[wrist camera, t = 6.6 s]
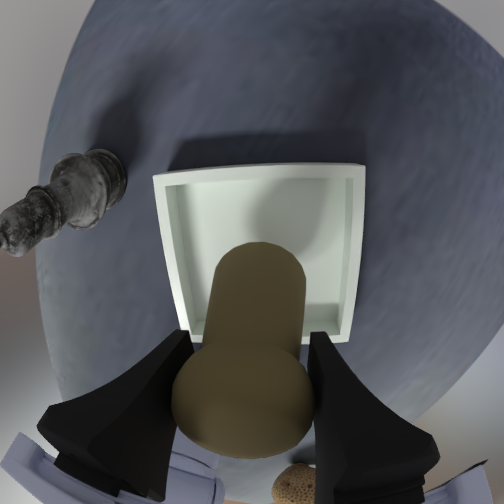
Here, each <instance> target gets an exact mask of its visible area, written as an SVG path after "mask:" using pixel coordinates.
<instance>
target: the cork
mask: <svg viewBox="0 0 504 504" xmlns="http://www.w3.org/2000/svg"><path fill="white" fill-rule="evenodd" d="M305 299H306V276H305V273H304V270H303V267H302V265H301V264H300V263H299V261H298V260H297V259H296V258H295V256H294V255H293V254H292V253H290V252H289V251H287V250H286V249H284V248H282V247H281V246H279V245H275V244H271V243H267V242H248V243H245V244H242V245H239V246H237V247H234V248H233V249H231V250H230V251H229V252H227V253H226V254H225V255H224V256H222V258H221V260H220V261H219V263H218V264H217V266H216V268H215V272H214V276H213V281H212V287H211V292H210V298H209V303H208V309H207V315H206V321H205V326H204V332H203V338H202V344H201V349H200V350H198V351H197V352H195V353H193V354H192V356H191V357H190V358H189V359H188V360H187V361H186V362H185V364H184V365H183V367H182V368H181V369H180V371H179V372H178V373H177V376H176V378H175V380H174V383H173V385H172V399H171V411H172V414H173V417H174V420H175V422H176V424H177V426H178V428H179V430H180V431H181V432H182V433H183V434H184V435H185V436H186V437H187V438H188V439H190V440H191V441H192V442H194V443H195V444H197V445H199V446H200V447H202V448H204V449H206V450H208V451H211V452H214V453H216V454H219V455H223V456H228V457H233V458H243V459H256V458H266V457H270V456H274V455H277V454H281V453H283V452H286V451H288V450H289V449H291V448H293V447H295V446H297V445H298V443H299V442H300V441H301V440H302V439H303V438H304V436H305V435H306V434H307V432H308V431H309V429H310V428H311V426H312V422H313V417H314V412H315V406H316V398H315V390H314V388H313V385H312V383H311V381H310V378H309V376H308V374H307V372H306V370H305V368H304V366H303V365H302V364H301V363H300V362H299V360H300V351H301V342H302V332H303V322H304V311H305Z"/></svg>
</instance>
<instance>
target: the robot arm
mask: <svg viewBox="0 0 504 504" xmlns="http://www.w3.org/2000/svg"><path fill="white" fill-rule="evenodd" d="M193 353H194V349H193V345H192V341H191V337H190V333H189V330H178V329H176V330H175V331H174V332H172V333H171V334H170V335H169V336H168V337H167V338H166V339H165V340H164V341H163V342H161V343H160V344H159V345H158V346H157V347H156V348H155V349H154V350H152V351H151V352H150V353H149V354H148V355H147V356H146V357H144V358H143V359H142V360H141V361H139V362H138V363H137V364H135V365H134V366H133V367H132V368H130V369H129V370H128V371H126V372H125V373H123V374H122V375H120V376H119V377H117V378H116V379H114V380H113V381H111V382H109V383H107V384H105V385H103V386H102V387H100V388H98V389H96V390H94V391H92V392H90V393H87V394H85V395H83V396H80V397H77V398H75V399H72V400H69V401H65V402H62V403H59V404H54V405H51V406H49V407H48V409H47V410H46V412H45V413H44V415H43V416H42V418H41V419H40V421H39V422H38V424H37V429H38V431H39V432H40V434H41V435H42V436H43V437H44V438H45V439H46V440H47V441H48V442H49V443H50V444H51V445H52V446H53V447H54V448H56V449H57V450H58V451H59V454H58V456H57V458H54V457H53V456H51V455H49V454H48V453H46V452H45V451H44V450H43V449H42V448H41V447H40V446H39V445H38V444H37V443H35V442H34V441H33V440H31V439H30V438H28V437H27V436H26V435H24V434H23V433H21V432H19V434H18V435H17V437H16V438H15V440H14V441H13V443H12V445H11V446H10V448H9V450H8V451H7V453H6V454H5V456H4V458H3V460H2V461H1V463H0V466H1V467H2V468H3V469H4V470H5V471H6V472H7V473H8V474H9V475H11V477H13V478H14V479H15V480H16V481H17V482H18V483H20V484H21V485H22V486H23V487H24V488H25V489H26V490H27V491H28V492H30V493H31V494H32V495H33V496H34V497H36V498H37V499H38V500H39V501H41V502H42V503H43V504H223V502H224V496H225V487H224V484H223V483H222V481H221V479H220V478H217V477H215V475H216V470H215V469H216V467H217V465H218V461H219V456H220V455H219V454H216V453H214V452H211V451H208V450H206V449H204V448H202V447H200V446H199V445H197V444H195V443H194V442H192V441H191V440H190V439H188V438H187V437H186V436H185V435H184V434H183V433H182V432H181V431H180V430H179V428H178V426H177V424H176V422H175V420H174V417H173V414H172V411H171V399H172V385H173V383H174V380H175V378H176V376H177V373H178V372H179V371H180V369H181V368H182V367H183V365H184V364H185V362H186V361H187V360H188V359H189V358H190V357H191V356H192V354H193ZM307 370H308V376H309V378H310V381H311V383H312V385H313V388H314V390H315V398H316V406H315V412H314V417H313V421H314V427H315V443H316V478H315V501H314V504H493V500H492V496H491V492H490V488H489V485H488V481H487V478H486V475H485V472H484V469H483V466H482V465H479V466H478V467H476V468H474V469H472V470H470V471H468V472H466V473H464V474H462V475H460V476H458V477H456V478H454V479H453V480H451V481H450V482H449V483H448V484H447V485H445V486H443V487H440V488H438V489H435V490H433V491H430V492H428V493H425V494H424V492H423V488H422V485H424V484H425V479H424V475H425V474H426V473H427V472H428V471H429V470H430V469H432V468H433V467H434V466H435V465H436V464H437V463H438V461H439V459H440V454H439V451H438V448H437V445H436V443H435V441H434V439H433V437H432V435H430V434H429V433H427V432H425V431H423V430H421V429H419V428H417V427H415V426H414V425H412V424H410V423H409V422H407V421H406V420H404V419H403V418H401V417H400V416H398V415H397V414H396V413H394V412H393V411H392V410H391V409H389V408H388V407H387V406H385V405H384V404H383V403H382V402H381V401H380V400H379V399H378V398H376V397H375V396H374V395H373V394H372V393H371V392H370V391H369V390H368V389H367V388H366V387H365V386H364V384H363V383H362V382H361V381H360V380H359V379H358V378H357V376H356V375H355V374H354V373H353V372H352V370H351V369H350V368H349V366H348V365H347V364H346V362H345V361H344V359H343V358H342V357H341V355H340V354H339V352H338V351H337V349H336V348H335V346H334V344H333V343H332V341H331V339H330V338H329V336H328V334H327V333H326V332H325V331H318V332H310V343H309V354H308V364H307Z"/></svg>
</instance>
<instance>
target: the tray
mask: <svg viewBox="0 0 504 504" xmlns="http://www.w3.org/2000/svg"><path fill="white" fill-rule="evenodd" d="M153 181H154V190H155V197H156V204H157V211H158V218H159V224H160V230H161V236H162V242H163V248H164V253H165V259H166V264H167V269H168V274H169V279H170V283H171V288H172V293H173V297H174V301H175V306H176V310H177V314H178V318H179V322H180V326H181V330H189V333H190V337H191V341H192V342H200V343H202V338H203V332H204V326H205V321H206V315H207V309H208V303H209V298H210V292H211V287H212V281H213V276H214V272H215V268H216V266H217V264H218V263H219V261H220V260H221V258H222V256H224V255H225V254H226V253H227V252H229V251H230V250H231V249H233V248H234V247H237V246H239V245H242V244H245V243H248V242H267V243H271V244H275V245H279V246H281V247H282V248H284V249H286V250H287V251H289V252H290V253H292V254H293V255H294V256H295V258H296V259H297V260H298V261H299V263H300V264H301V265H302V267H303V270H304V273H305V276H306V299H305V311H304V322H303V332H302V342H301V344H309V343H310V332H318V331H325V332H326V333H327V334H328V336H329V338H330V339H331V341H332V343H338V342H348V340H349V335H350V329H351V324H352V318H353V312H354V306H355V299H356V292H357V284H358V276H359V268H360V259H361V248H362V236H363V222H364V204H365V166H363V165H360V164H356V163H324V162H299V163H263V164H243V165H228V166H216V167H204V168H194V169H185V170H176V171H168V172H164V173H160V174H157V175H154V176H153Z"/></svg>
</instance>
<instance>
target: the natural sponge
mask: <svg viewBox="0 0 504 504" xmlns="http://www.w3.org/2000/svg"><path fill="white" fill-rule="evenodd" d="M315 478H316V468H312V467H310V466H308V465H306V464H304V463H296V464H293V465H291V466H289V467H288V468H287V469H285V470H284V471H283V472H282V473H281V474H280V475H279V476H278V477H277V479H276V480H275V482H274V484H273V487H272V497H273V499H274V501H275V503H277V504H314V501H315Z"/></svg>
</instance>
